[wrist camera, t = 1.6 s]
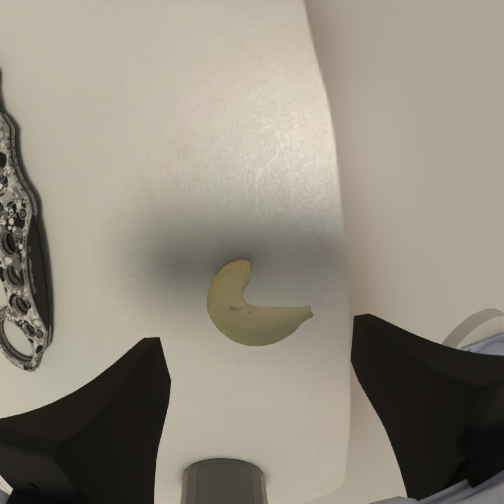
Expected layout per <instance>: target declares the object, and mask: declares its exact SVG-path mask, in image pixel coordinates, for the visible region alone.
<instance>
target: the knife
mask: <svg viewBox="0 0 504 504" xmlns="http://www.w3.org/2000/svg"><path fill="white" fill-rule="evenodd" d="M36 215H37V206H36V201H35V198H34V195H33V193H32V192H31V191H30V189H29V187H28V186H27V184H26V182H25V181H24V178H23V176H22V174H21V171H20V168H19V165H18V161H17V158H16V151H15V128H14V126H13V125H12V123H11V121H10V120H9V118H8V117H7V115H6V114H3V113H1V112H0V279H1V281H2V284H3V286H4V289H5V293H6V297H7V300H8V306H7V308H3V309H2V310H0V350H1V351H2V353H3V354H4V355H5V356H6V358H7V359H8V360H9V361H10V362H11V363H13V364H14V365H15V366H17V367H19V368H21V369H22V370H26V371H30V372H33V371H35V370H36V368H38V367H39V362H40V358H41V355H42V353H43V352H44V351H45V350H46V349H47V347H49V346H50V339H51V330H52V329H51V326H50V324H49V303H48V291H47V282H46V274H45V265H44V260H43V253H42V247H41V242H40V237H39V232H38V228H37V224H36ZM8 232H9V233H10V234H11V235H9V234H8ZM32 261H33V266H32ZM12 266H13V267H15V268H16V270H17V271H18V273H19V276H20V282H19V281H18V280H16V278H15V277H14V275H13V273H12ZM32 272H33V273H34V274H35V280H34V278H33V273H32ZM36 289H37V292H36ZM20 297H21V298H22V299H23V300H24V301H25V302H26V304H27V306H28V308H26V307H25V306H24V305H23V304H22V301H21V298H20ZM3 320H8V321H10V322H12V323H14V324H15V325H16V326H18V327H19V328H20V329H21V330H22V331H23V333H24V334H25V335H26V337H27V338H28V340H29V342H30V344H31V347H32V350H33V357H32V358H26V357H23V356H22V355H20V354H18V353H17V352H16V351H15V350H14V349H13V348H12V347H11V346H10V344H9V343H8V341H7V339H6V337H5V335H4V332H3V327H2V323H3Z"/></svg>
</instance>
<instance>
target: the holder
mask: <svg viewBox="0 0 504 504" xmlns="http://www.w3.org/2000/svg"><path fill="white" fill-rule="evenodd" d="M180 504H268V501H267V493H266V485H265V478H264V474H263V472H262V471H261V470H260V469H259V468H257V467H256V466H254V465H252V464H250V463H247V462H243V461H239V460H233V459H211V460H205V461H201V462H197V463H195V464H193V465H191V466H189V467H188V468H187V469H186V470H185V472H184V474H183V481H182V490H181V501H180Z"/></svg>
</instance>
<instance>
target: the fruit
mask: <svg viewBox="0 0 504 504" xmlns="http://www.w3.org/2000/svg"><path fill="white" fill-rule="evenodd" d="M251 267H252V265H251V262H250V261H249V260H246V259H241V260H238V261H234V262H231V263H229V264H227V265H226V266H224V267H223V268H222V269H221V270H220V271H219V273H218V274H217V275H216V277H215V278H214V280H213V282H212V284H211V286H210V288H209V291H208V297H207V310H208V313H209V315H210V317H211V320H212V321H213V323H214V325H215V326H216V327H217V328H218V329H219V331H221V332H222V333H223V334H224V335H225V336H226V337H228V338H229V339H231V340H233V341H235V342H237V343H240V344H243V345H248V346H264V345H270V344H273V343H276V342H278V341H280V340H282V339H284V338H286V337H288V336H289V335H291V334H292V333H293V332H294V331H295V330H296V329H297V328H298V327H299V326H300V325H301V324H302V323H303V322H304V321H305V320H307V319H309V318H311V317H312V316H313V313H312V312H311V308H310V307H309V306H306V307H301V308H262V307H256V306H252V305H249V304H247V303H246V302H245V300H244V299H243V291H244V289H245V287H246V285H247V283H248V281H249V278H250V273H251V270H252V268H251Z"/></svg>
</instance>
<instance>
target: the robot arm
mask: <svg viewBox="0 0 504 504" xmlns="http://www.w3.org/2000/svg"><path fill="white" fill-rule="evenodd" d="M351 363H352V365H353V368H354V371H355V373H356V376H357V378H358V381H359V383H360V384H361V386H362V388H363V390H364V391H365V393H366V395H367V397H368V399H369V400H370V402H371V404H372V406H373V407H374V409H375V411H376V412H377V414H378V416H379V418H380V420H381V421H382V424H383V426H384V427H385V430H386V432H387V435H388V437H389V440H390V442H391V445H392V447H393V450H394V453H395V456H396V459H397V462H398V465H399V468H400V471H401V475H402V478H403V481H404V485H405V488H406V492H407V497H408V498H405V497H399V496H398V497H395V498H390V499H385V500H381V501H376V502H373V503H370V504H504V332H502V333H500V334H497V335H495V336H492V337H489V338H487V339H484V340H481V341H478V342H476V343H473V344H470V345H467V346H464V347H462V348H461V349H460V350H459V349H455V348H452V347H448V346H445V345H441V344H438V343H435V342H432V341H430V340H427V339H425V338H422V337H420V336H417V335H415V334H412V333H410V332H408V331H406V330H404V329H402V328H399V327H397V326H395V325H393V324H391V323H389V322H387V321H385V320H383V319H381V318H378V317H376V316H374V315H371V314H364V315H358V316H354V323H353V337H352V350H351ZM170 387H171V379H170V375H169V371H168V368H167V364H166V360H165V357H164V353H163V349H162V345H161V341H160V337H152V338H143V339H142V340H141V341H139V342H138V343H137V344H136V345H135V346H133V347H132V348H131V349H130V350H129V351H128V352H127V353H125V354H124V355H123V356H122V357H121V358H120V359H119V360H117V361H116V362H115V363H114V364H113V365H111V366H110V367H109V368H108V369H106V370H105V371H104V372H102V373H101V374H100V375H99V376H97V377H96V378H95V379H93V380H92V381H90V382H89V383H87V384H86V385H84V386H83V387H81V388H80V389H78V390H76V391H75V392H73V393H71V394H69V395H67V396H65V397H63V398H61V399H59V400H57V401H55V402H53V403H51V404H48V405H46V406H43V407H41V408H38V409H35V410H32V411H29V412H26V413H22V414H18V415H14V416H10V417H6V418H1V419H0V475H1V476H2V477H3V479H4V480H5V481H6V482H7V483H8V484H9V485H10V486H11V487H12V488H13V491H12V493H11V495H8V494H7V493H6V492H4V491H2V490H1V489H0V504H154V486H155V471H156V459H157V453H158V447H159V443H160V439H161V434H162V430H163V426H164V422H165V418H166V413H167V409H168V405H169V398H170Z"/></svg>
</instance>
